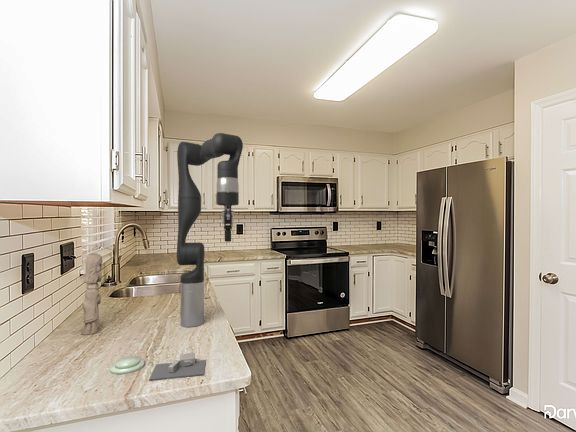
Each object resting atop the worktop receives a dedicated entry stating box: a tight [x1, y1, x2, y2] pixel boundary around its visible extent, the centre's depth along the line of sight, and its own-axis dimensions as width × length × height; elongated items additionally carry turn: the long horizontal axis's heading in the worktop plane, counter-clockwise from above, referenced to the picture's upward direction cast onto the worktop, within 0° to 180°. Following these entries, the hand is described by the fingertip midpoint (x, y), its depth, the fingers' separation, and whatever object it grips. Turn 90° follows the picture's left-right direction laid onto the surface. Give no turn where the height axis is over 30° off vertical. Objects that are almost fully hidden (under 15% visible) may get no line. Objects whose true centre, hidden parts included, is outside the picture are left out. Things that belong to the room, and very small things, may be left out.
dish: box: [109, 355, 145, 375], centre depth 92 cm, size 9×9×2 cm
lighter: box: [169, 352, 196, 373], centre depth 92 cm, size 7×2×8 cm
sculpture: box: [80, 252, 103, 336], centre depth 122 cm, size 7×7×30 cm
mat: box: [148, 359, 206, 382], centre depth 90 cm, size 9×14×1 cm, turn 102°
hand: (227, 241), depth 110 cm, fingers closed
